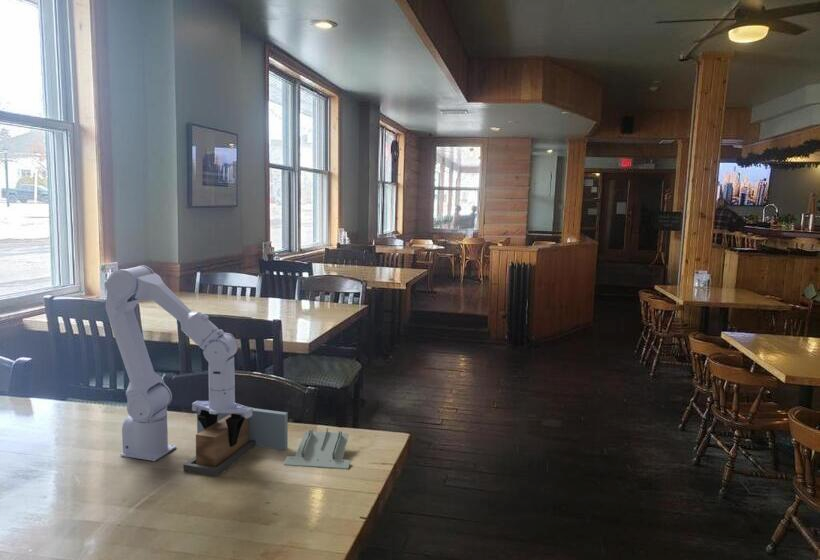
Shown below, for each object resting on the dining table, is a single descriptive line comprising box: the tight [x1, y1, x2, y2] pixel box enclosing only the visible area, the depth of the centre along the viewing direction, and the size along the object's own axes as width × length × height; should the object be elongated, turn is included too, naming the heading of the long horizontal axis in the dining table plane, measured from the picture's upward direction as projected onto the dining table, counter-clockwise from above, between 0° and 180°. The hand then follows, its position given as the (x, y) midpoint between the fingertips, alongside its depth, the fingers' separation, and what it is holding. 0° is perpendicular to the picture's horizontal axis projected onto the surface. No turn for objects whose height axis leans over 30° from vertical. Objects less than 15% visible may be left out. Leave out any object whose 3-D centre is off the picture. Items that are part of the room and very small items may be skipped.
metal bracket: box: [283, 427, 351, 471], centre depth 137 cm, size 14×6×15 cm
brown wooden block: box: [195, 415, 248, 467], centre depth 134 cm, size 5×14×7 cm, turn 166°
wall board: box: [183, 407, 289, 477], centre depth 134 cm, size 24×18×9 cm
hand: (222, 443), depth 134 cm, fingers closed on brown wooden block, 5 cm apart
